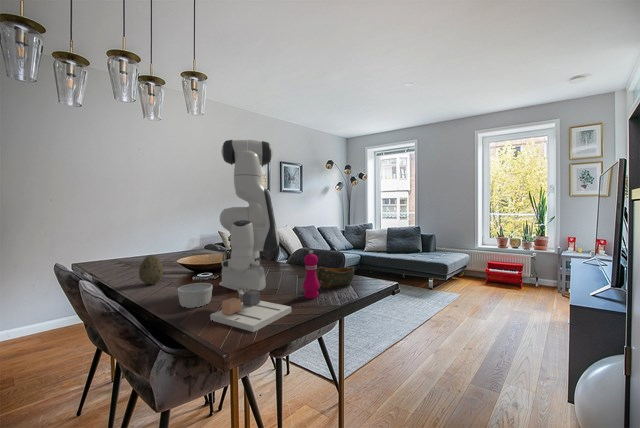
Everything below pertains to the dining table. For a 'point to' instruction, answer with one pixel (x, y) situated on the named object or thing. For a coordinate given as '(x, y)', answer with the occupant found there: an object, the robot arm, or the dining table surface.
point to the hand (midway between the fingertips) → (243, 298)
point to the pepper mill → (311, 276)
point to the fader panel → (252, 315)
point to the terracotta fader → (231, 306)
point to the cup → (335, 277)
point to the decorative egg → (150, 270)
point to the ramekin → (195, 294)
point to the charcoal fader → (251, 298)
